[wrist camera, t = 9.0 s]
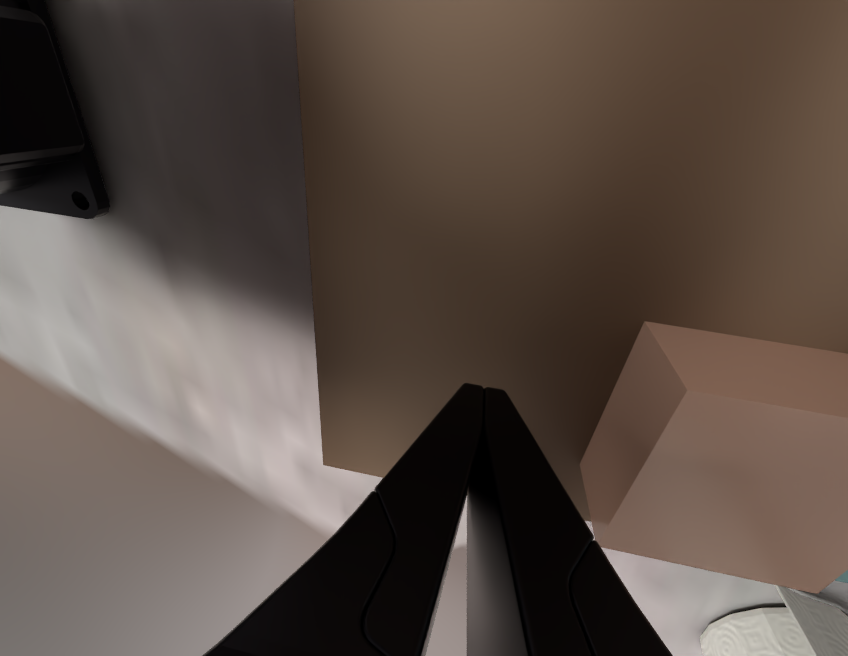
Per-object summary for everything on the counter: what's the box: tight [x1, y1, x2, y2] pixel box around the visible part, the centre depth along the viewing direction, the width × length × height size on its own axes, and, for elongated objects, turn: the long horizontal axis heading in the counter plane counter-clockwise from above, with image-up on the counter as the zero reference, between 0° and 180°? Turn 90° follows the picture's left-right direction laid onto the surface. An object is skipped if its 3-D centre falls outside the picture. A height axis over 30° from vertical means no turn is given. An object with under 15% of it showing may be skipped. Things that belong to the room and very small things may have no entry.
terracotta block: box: [580, 321, 848, 594], centre depth 7 cm, size 4×4×2 cm
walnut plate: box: [294, 0, 848, 521], centre depth 8 cm, size 11×16×3 cm
